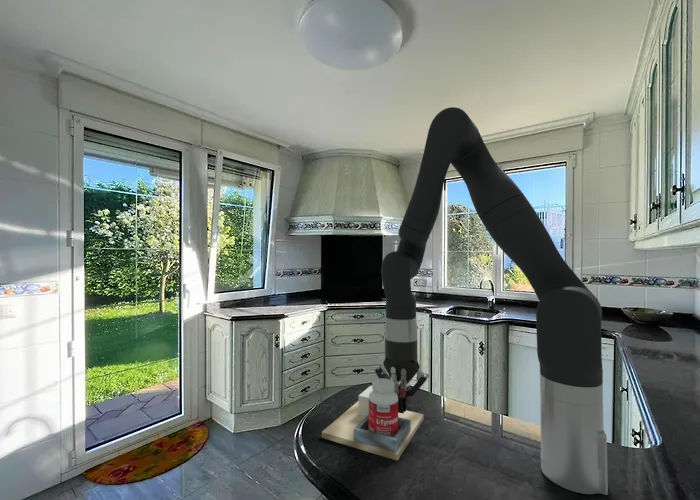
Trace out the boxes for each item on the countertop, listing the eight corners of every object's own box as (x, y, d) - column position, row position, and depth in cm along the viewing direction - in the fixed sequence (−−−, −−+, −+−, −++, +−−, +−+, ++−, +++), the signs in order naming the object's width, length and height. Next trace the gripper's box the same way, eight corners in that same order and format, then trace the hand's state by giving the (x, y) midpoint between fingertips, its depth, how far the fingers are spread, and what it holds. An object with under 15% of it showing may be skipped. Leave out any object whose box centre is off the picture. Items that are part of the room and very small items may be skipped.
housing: (396, 409, 81) (396, 390, 81) (386, 421, 75) (386, 401, 75) (370, 403, 85) (370, 385, 85) (358, 414, 78) (358, 395, 78)
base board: (423, 419, 79) (423, 403, 79) (397, 460, 63) (397, 440, 63) (359, 404, 87) (359, 390, 87) (321, 437, 71) (321, 420, 71)
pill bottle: (374, 445, 66) (374, 389, 66) (364, 430, 71) (364, 378, 72) (403, 440, 67) (403, 385, 68) (390, 426, 73) (390, 375, 73)
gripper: (433, 336, 78) (433, 411, 77) (381, 330, 84) (381, 399, 84) (424, 343, 71) (425, 425, 71) (368, 336, 77) (368, 412, 77)
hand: (401, 411), depth 77 cm, fingers closed
